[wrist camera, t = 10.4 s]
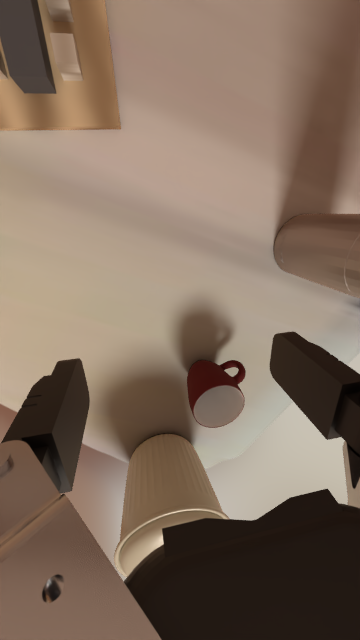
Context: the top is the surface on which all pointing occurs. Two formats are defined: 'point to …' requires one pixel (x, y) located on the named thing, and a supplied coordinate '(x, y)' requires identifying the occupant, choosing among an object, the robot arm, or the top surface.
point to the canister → (161, 496)
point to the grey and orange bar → (26, 46)
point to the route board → (69, 94)
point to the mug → (215, 393)
